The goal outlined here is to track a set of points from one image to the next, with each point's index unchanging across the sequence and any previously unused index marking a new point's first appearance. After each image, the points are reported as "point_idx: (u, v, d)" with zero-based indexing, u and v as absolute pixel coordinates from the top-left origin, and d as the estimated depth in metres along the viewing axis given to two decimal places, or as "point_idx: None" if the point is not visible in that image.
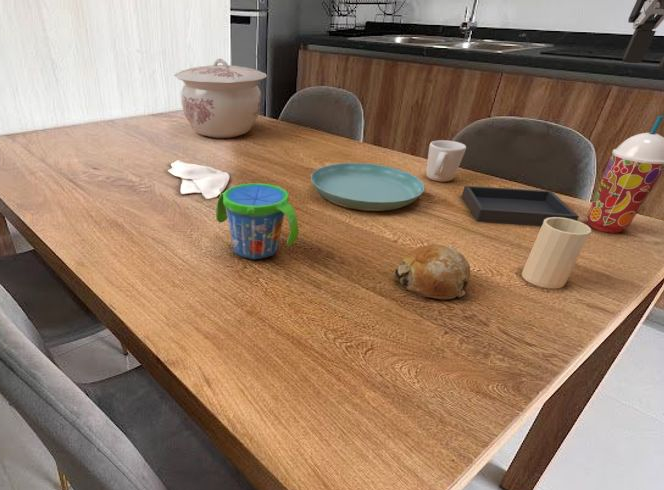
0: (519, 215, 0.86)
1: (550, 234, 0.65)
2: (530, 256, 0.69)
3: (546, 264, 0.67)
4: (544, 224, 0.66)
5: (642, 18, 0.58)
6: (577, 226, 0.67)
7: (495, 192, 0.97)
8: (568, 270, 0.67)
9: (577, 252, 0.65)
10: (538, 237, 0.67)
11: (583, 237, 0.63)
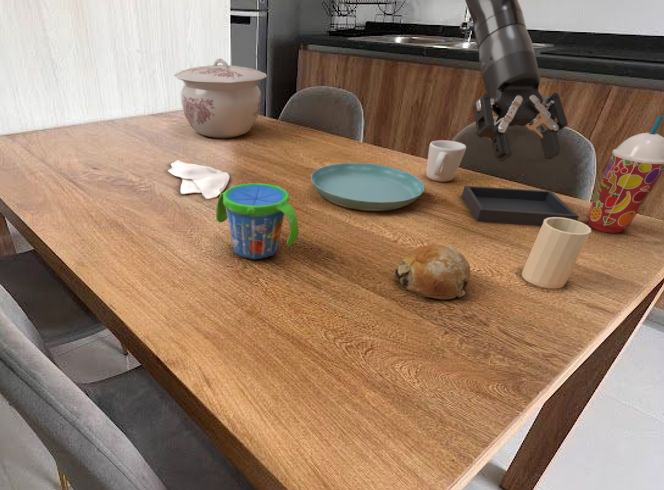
0: (519, 215, 0.86)
1: (550, 234, 0.65)
2: (530, 256, 0.69)
3: (546, 264, 0.67)
4: (544, 224, 0.66)
5: None
6: (577, 226, 0.67)
7: (495, 192, 0.97)
8: (568, 270, 0.67)
9: (577, 252, 0.65)
10: (538, 237, 0.67)
11: (583, 237, 0.63)
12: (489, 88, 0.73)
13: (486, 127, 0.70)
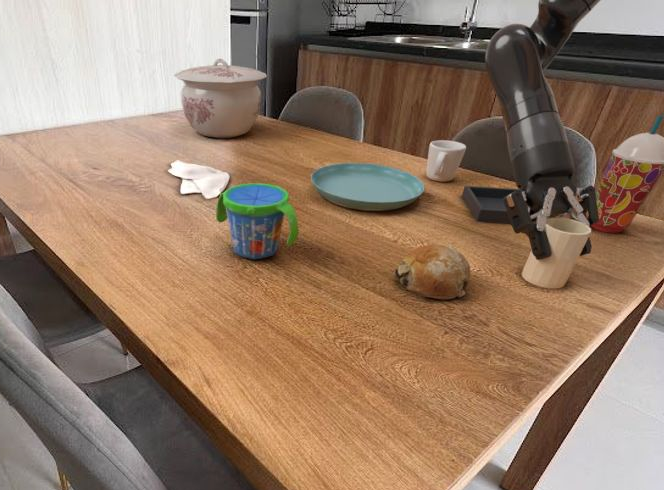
0: None
1: (550, 234, 0.65)
2: (530, 256, 0.69)
3: (546, 264, 0.67)
4: None
5: None
6: (577, 226, 0.67)
7: (495, 192, 0.97)
8: (568, 270, 0.67)
9: (577, 252, 0.65)
10: None
11: (583, 237, 0.63)
12: (519, 176, 0.68)
13: (523, 226, 0.66)
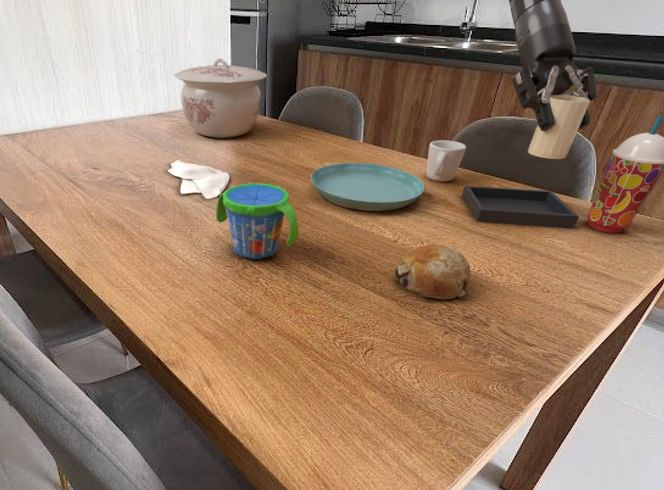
0: (519, 215, 0.86)
1: (554, 105, 0.74)
2: (536, 131, 0.78)
3: (550, 135, 0.75)
4: None
5: None
6: (577, 101, 0.75)
7: (495, 192, 0.97)
8: (569, 140, 0.75)
9: (577, 121, 0.74)
10: None
11: (583, 105, 0.72)
12: (526, 59, 0.77)
13: (530, 99, 0.74)
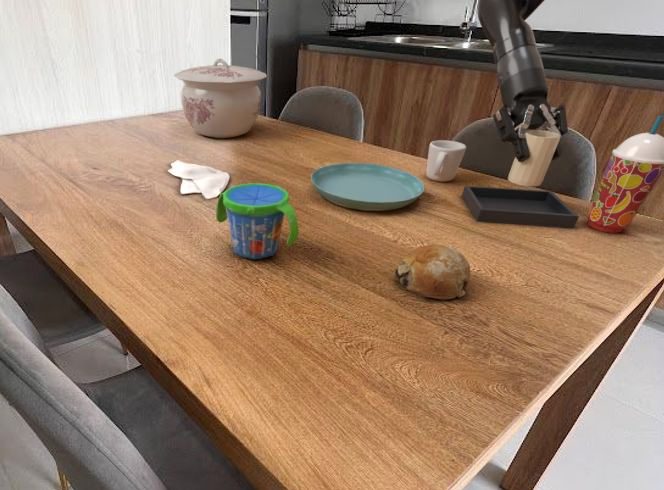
0: (519, 215, 0.86)
1: (529, 140, 0.83)
2: (514, 161, 0.87)
3: (526, 165, 0.85)
4: None
5: None
6: (550, 135, 0.85)
7: (495, 192, 0.97)
8: (543, 170, 0.85)
9: (550, 154, 0.83)
10: None
11: (554, 140, 0.82)
12: (506, 98, 0.87)
13: (508, 134, 0.84)
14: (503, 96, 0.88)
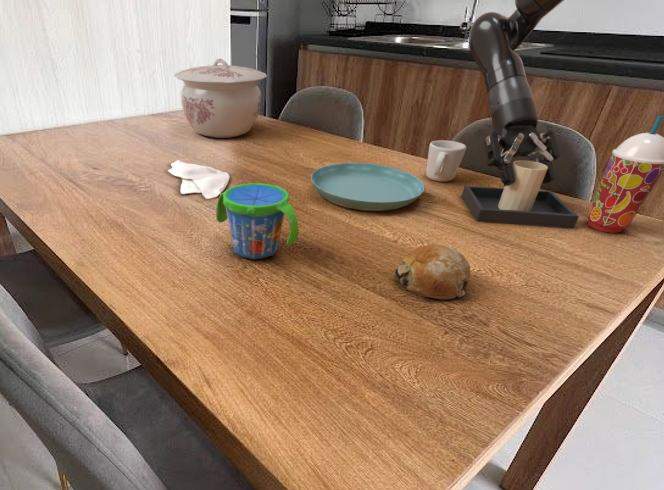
0: (519, 215, 0.86)
1: (517, 171, 0.87)
2: (504, 191, 0.91)
3: (515, 195, 0.88)
4: (513, 164, 0.88)
5: (536, 161, 0.90)
6: (538, 166, 0.88)
7: (495, 192, 0.97)
8: (531, 199, 0.88)
9: (537, 184, 0.87)
10: None
11: (541, 172, 0.85)
12: (497, 126, 0.90)
13: (494, 159, 0.87)
14: (494, 124, 0.91)
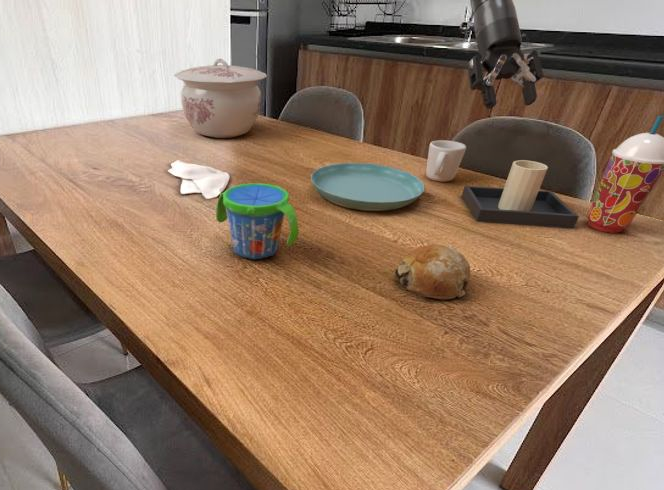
0: (519, 215, 0.86)
1: (517, 171, 0.87)
2: (504, 191, 0.91)
3: (515, 195, 0.88)
4: (513, 164, 0.88)
5: (519, 83, 0.92)
6: (538, 166, 0.88)
7: (495, 192, 0.97)
8: (531, 199, 0.88)
9: (537, 184, 0.87)
10: (509, 175, 0.89)
11: (541, 172, 0.85)
12: (481, 48, 0.91)
13: (476, 82, 0.89)
14: (479, 47, 0.92)
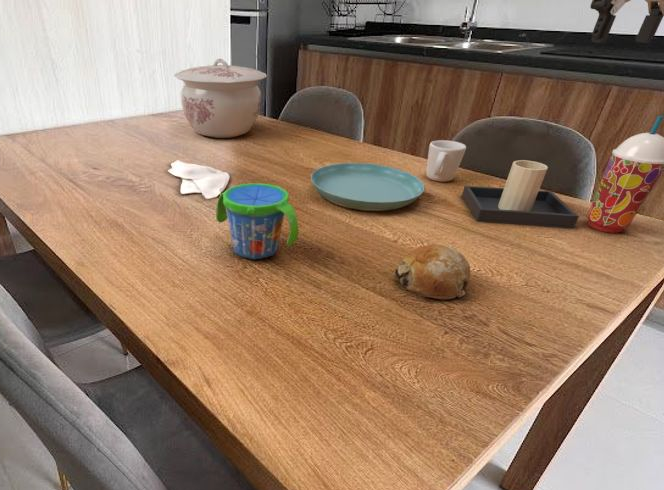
0: (519, 215, 0.86)
1: (517, 171, 0.87)
2: (504, 191, 0.91)
3: (515, 195, 0.88)
4: (513, 164, 0.88)
5: (649, 5, 0.72)
6: (538, 166, 0.88)
7: (495, 192, 0.97)
8: (531, 199, 0.88)
9: (537, 184, 0.87)
10: (509, 175, 0.89)
11: (541, 172, 0.85)
12: None
13: (601, 5, 0.69)
14: None
